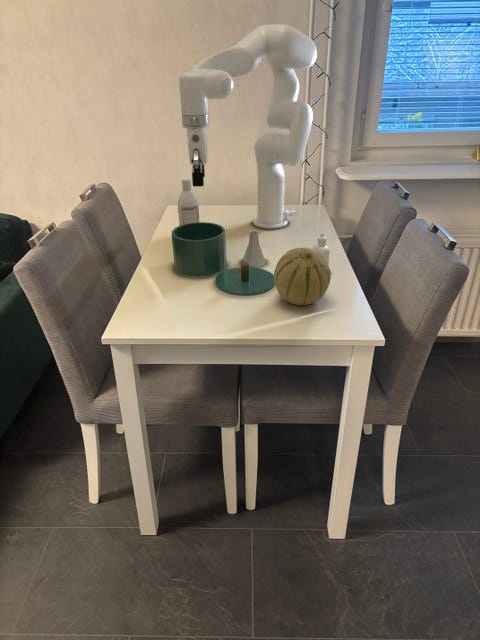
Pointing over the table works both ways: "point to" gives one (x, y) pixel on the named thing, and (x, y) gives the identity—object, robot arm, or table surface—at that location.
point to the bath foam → (187, 204)
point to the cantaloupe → (302, 276)
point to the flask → (253, 250)
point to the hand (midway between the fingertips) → (198, 181)
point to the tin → (199, 249)
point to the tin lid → (245, 280)
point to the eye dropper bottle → (322, 247)
